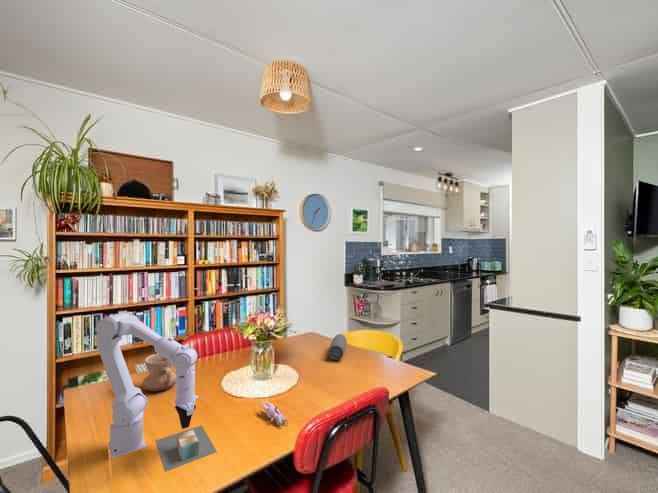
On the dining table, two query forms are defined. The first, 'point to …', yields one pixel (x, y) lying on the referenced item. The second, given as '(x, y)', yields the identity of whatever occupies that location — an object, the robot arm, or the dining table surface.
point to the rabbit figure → (274, 414)
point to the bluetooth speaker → (338, 346)
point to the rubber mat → (171, 454)
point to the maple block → (187, 445)
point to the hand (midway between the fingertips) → (185, 427)
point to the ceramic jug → (158, 373)
